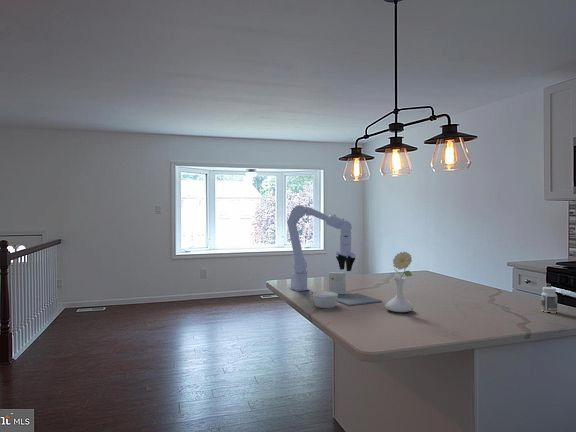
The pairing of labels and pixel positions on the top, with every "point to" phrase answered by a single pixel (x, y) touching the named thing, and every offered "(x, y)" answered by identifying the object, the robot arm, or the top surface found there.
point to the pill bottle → (549, 300)
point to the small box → (337, 282)
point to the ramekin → (325, 299)
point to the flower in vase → (400, 284)
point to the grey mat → (356, 299)
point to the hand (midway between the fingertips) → (345, 270)
